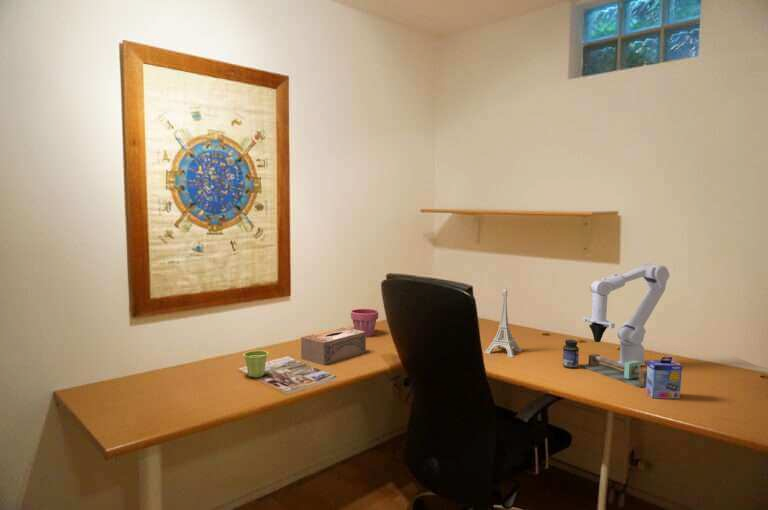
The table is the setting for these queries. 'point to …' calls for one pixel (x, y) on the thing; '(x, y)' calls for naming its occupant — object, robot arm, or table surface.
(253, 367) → the plant pot
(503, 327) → the eiffel tower
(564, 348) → the pill bottle
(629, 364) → the collar
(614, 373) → the rail stand
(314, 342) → the tissue box cover
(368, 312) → the plant pot
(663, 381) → the ink cartridge box
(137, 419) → the table surface
